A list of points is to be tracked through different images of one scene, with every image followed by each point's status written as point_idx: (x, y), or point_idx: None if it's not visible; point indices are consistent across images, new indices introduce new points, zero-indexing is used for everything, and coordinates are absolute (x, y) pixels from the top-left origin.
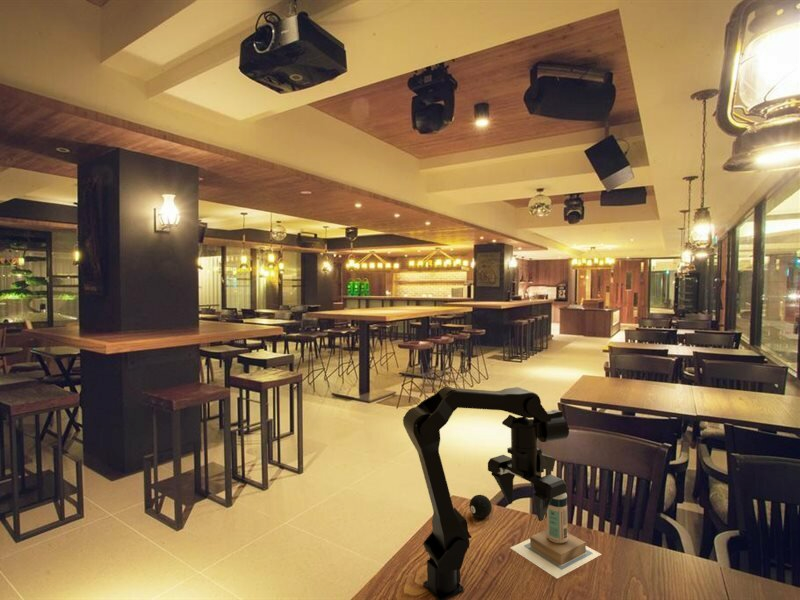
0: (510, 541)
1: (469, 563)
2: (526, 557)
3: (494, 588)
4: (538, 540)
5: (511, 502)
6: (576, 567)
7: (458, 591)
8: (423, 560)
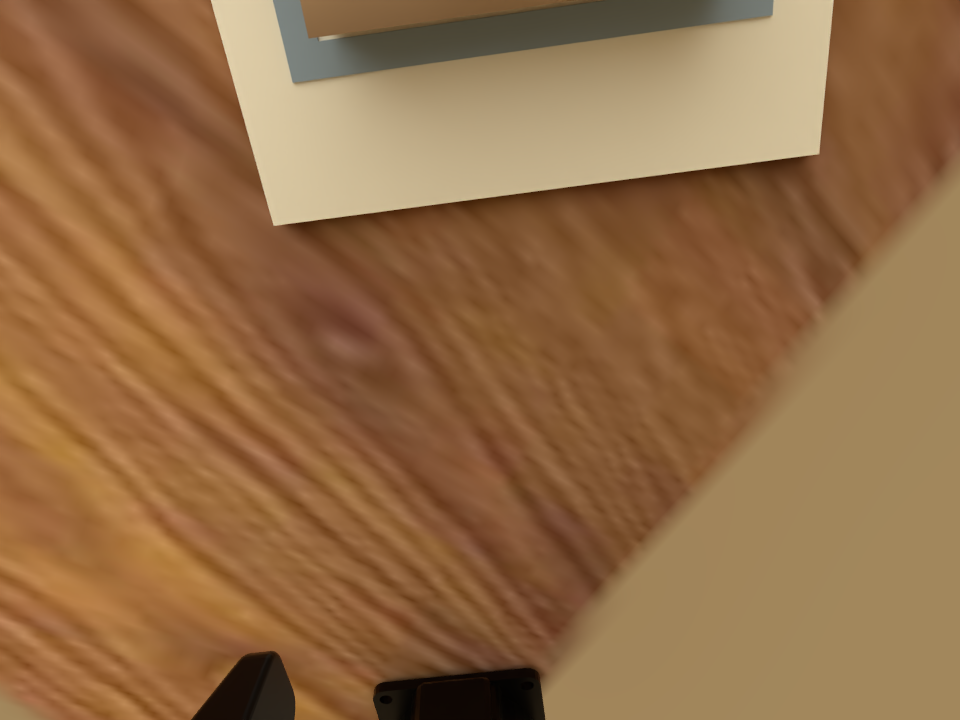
0: (144, 118)
1: (323, 544)
2: (462, 187)
3: (604, 542)
4: (418, 5)
5: (276, 681)
6: None
7: (542, 703)
8: None
